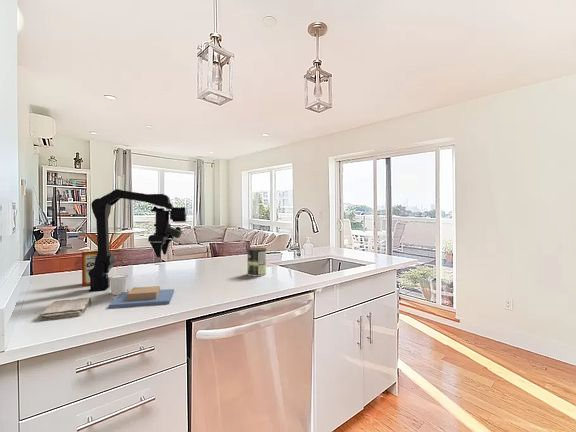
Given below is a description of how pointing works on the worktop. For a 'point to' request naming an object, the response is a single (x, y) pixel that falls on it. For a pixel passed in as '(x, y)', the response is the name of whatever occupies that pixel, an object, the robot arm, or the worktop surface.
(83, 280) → the baking soda box
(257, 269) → the coffee can
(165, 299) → the board
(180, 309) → the worktop surface
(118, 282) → the white cup
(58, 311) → the washcloth
